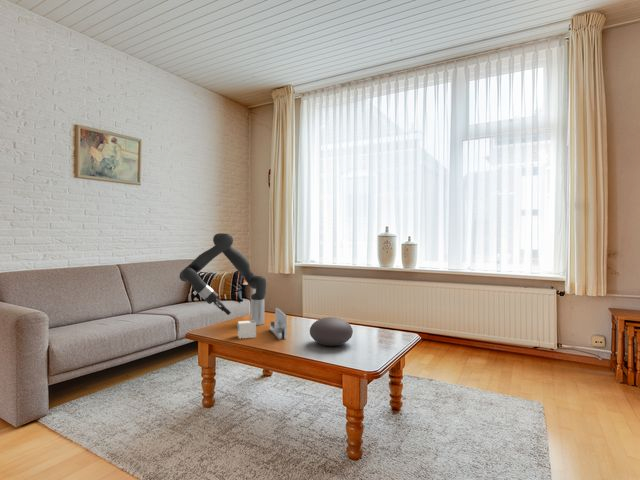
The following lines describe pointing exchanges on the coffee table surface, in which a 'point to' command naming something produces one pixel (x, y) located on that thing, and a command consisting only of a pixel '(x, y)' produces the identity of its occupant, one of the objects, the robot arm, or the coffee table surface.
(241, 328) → the block
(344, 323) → the flattened ellipsoid
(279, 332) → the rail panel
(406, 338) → the coffee table surface
